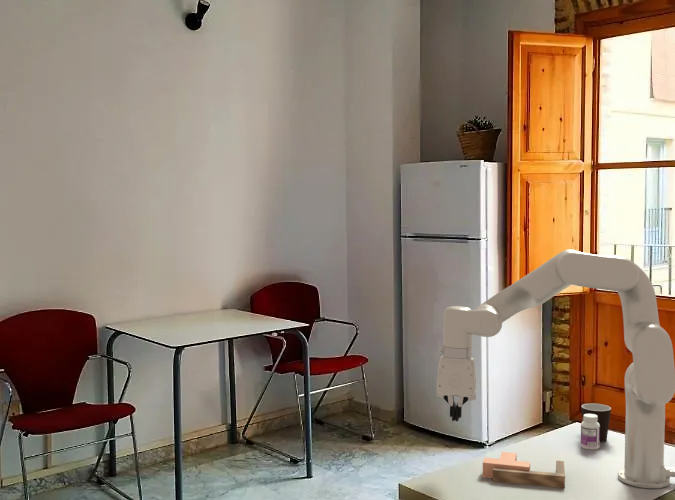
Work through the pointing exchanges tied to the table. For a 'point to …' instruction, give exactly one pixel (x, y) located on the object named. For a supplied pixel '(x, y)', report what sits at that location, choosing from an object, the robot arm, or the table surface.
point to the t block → (503, 464)
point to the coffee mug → (599, 417)
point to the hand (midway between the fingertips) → (455, 419)
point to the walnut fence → (532, 476)
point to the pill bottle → (590, 432)
